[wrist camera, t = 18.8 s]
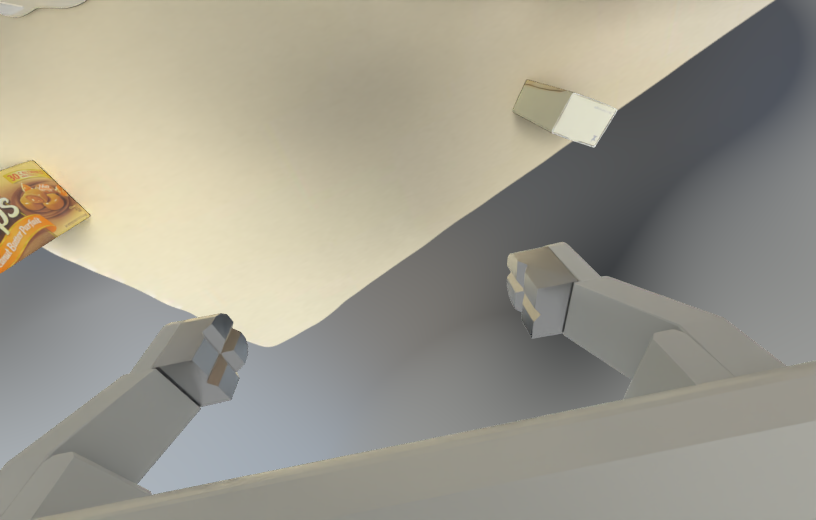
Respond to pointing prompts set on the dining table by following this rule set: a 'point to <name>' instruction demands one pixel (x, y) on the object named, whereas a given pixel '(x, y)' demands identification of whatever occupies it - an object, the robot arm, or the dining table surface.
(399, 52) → the dining table surface
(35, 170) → the candy box
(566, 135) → the skincare box
